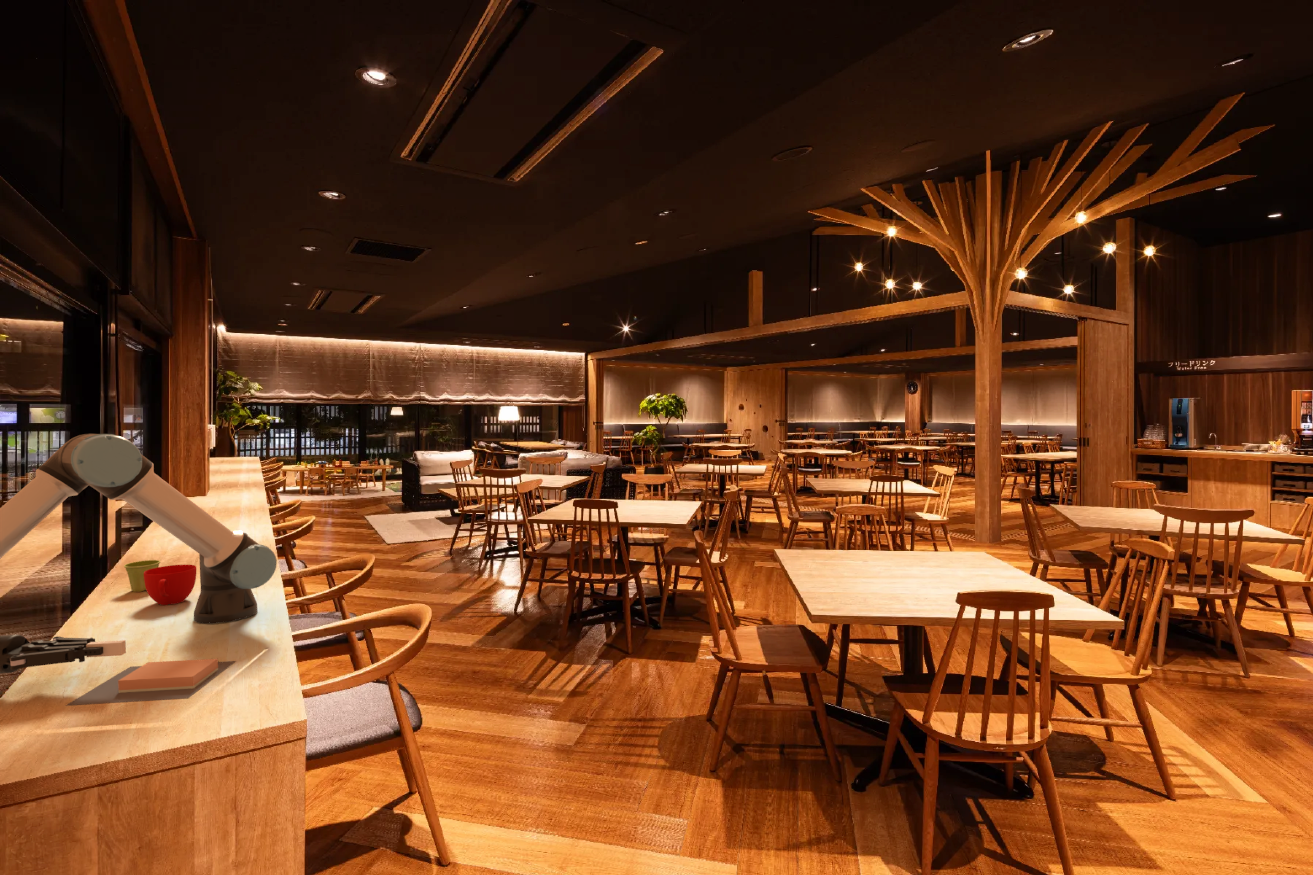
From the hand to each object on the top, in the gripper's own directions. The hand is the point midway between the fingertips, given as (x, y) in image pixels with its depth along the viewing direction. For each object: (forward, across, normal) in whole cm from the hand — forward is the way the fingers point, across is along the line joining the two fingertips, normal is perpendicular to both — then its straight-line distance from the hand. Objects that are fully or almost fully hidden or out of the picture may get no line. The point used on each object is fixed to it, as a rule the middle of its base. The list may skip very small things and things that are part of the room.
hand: (123, 647), depth 140 cm
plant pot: (-42, -84, -8) cm, 95 cm away
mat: (+6, 0, -8) cm, 10 cm away
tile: (+2, 0, -6) cm, 7 cm away
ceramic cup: (-25, -65, -8) cm, 70 cm away
